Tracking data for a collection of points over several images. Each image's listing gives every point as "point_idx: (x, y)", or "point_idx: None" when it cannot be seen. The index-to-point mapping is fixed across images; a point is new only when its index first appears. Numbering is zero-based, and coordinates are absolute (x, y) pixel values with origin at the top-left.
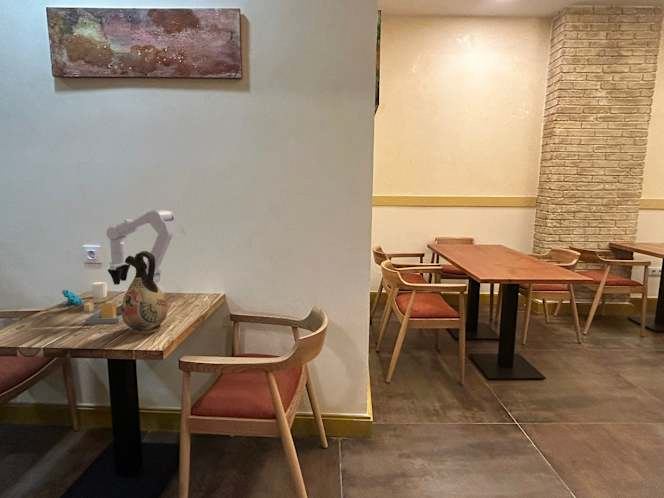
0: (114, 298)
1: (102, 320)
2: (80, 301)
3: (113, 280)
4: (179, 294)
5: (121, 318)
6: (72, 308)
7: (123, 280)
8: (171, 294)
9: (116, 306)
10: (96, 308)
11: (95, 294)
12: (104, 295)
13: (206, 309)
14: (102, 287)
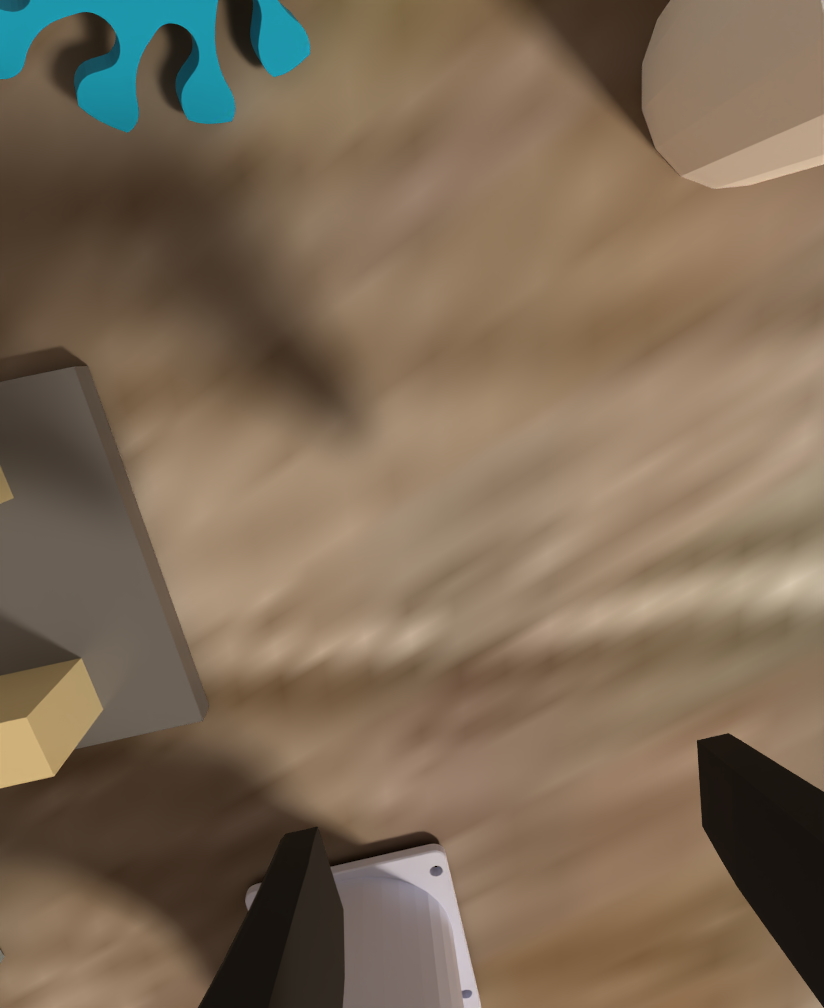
0: (642, 380)
1: None
2: (259, 12)
3: (239, 948)
4: (787, 972)
5: None
6: (35, 62)
7: (702, 792)
8: None
9: (186, 707)
10: (37, 522)
11: (676, 27)
12: (719, 176)
13: None
14: (798, 113)
